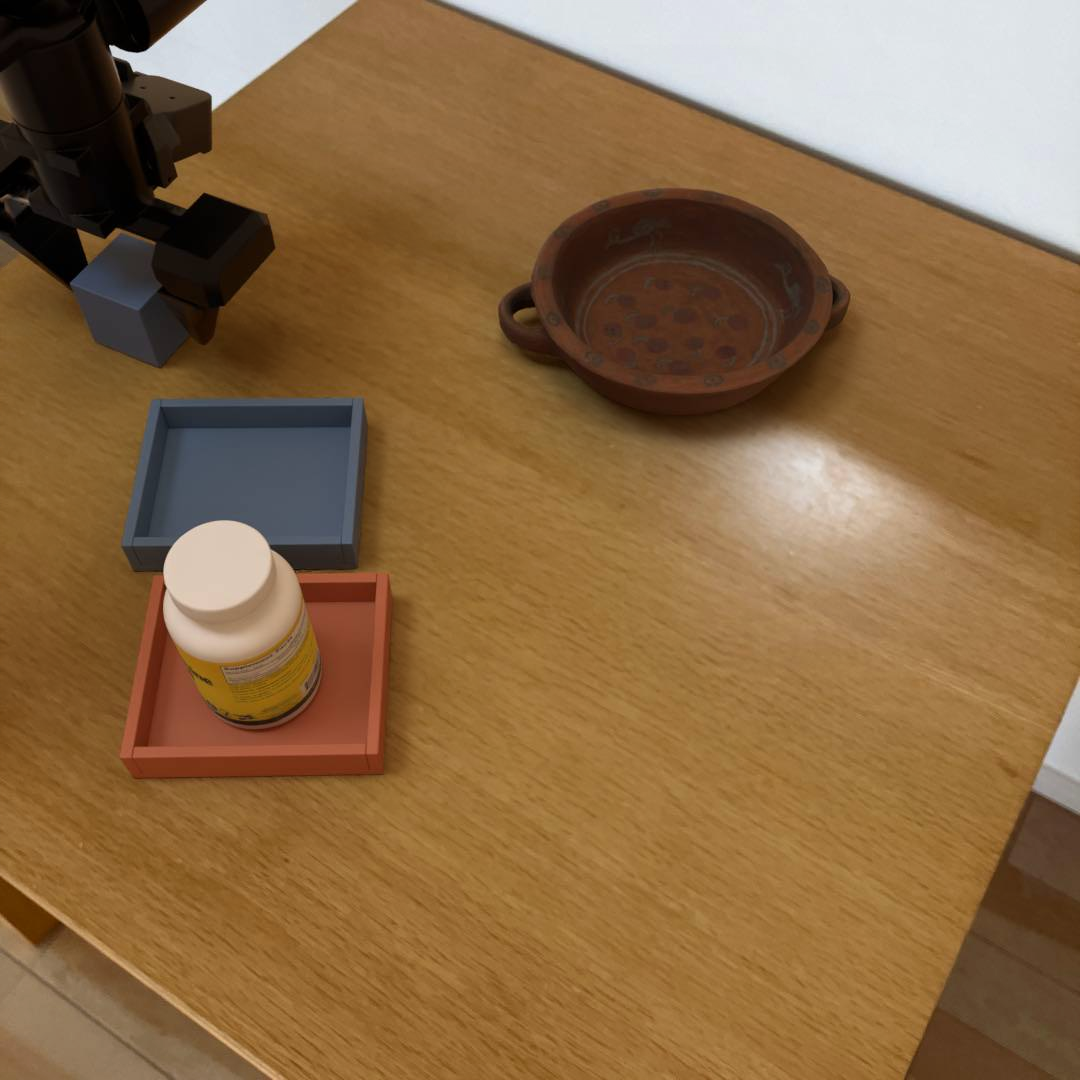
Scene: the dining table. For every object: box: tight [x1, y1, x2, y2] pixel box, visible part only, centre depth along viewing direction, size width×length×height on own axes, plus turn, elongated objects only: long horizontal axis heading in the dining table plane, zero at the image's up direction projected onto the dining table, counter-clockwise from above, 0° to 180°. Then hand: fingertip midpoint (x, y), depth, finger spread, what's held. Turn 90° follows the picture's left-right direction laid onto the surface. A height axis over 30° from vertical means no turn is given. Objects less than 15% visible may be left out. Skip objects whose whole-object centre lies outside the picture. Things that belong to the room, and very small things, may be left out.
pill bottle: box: [163, 520, 322, 729], centre depth 55 cm, size 6×6×11 cm
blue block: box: [70, 232, 191, 369], centre depth 71 cm, size 5×5×5 cm
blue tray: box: [120, 397, 369, 572], centre depth 65 cm, size 12×10×2 cm
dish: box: [497, 187, 851, 416], centre depth 72 cm, size 18×22×5 cm
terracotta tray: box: [119, 572, 393, 779], centre depth 59 cm, size 12×10×2 cm
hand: (146, 316), depth 72 cm, fingers open, 9 cm apart
